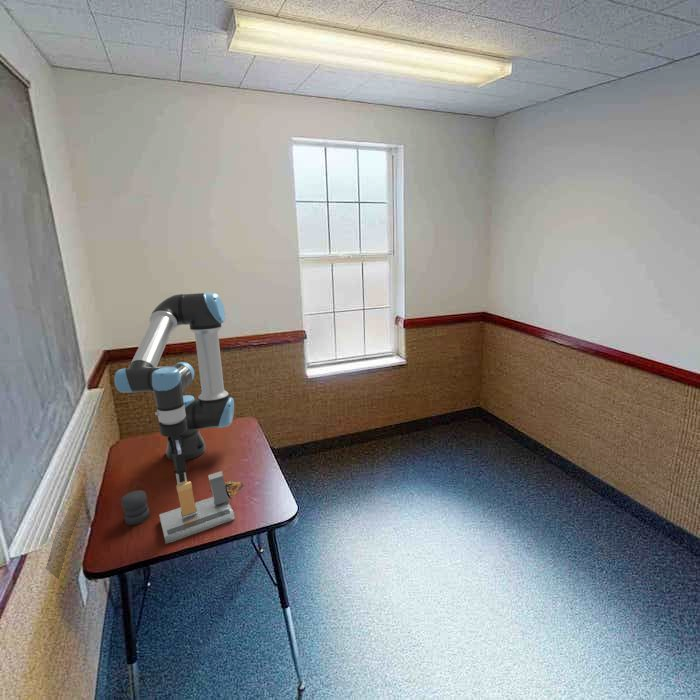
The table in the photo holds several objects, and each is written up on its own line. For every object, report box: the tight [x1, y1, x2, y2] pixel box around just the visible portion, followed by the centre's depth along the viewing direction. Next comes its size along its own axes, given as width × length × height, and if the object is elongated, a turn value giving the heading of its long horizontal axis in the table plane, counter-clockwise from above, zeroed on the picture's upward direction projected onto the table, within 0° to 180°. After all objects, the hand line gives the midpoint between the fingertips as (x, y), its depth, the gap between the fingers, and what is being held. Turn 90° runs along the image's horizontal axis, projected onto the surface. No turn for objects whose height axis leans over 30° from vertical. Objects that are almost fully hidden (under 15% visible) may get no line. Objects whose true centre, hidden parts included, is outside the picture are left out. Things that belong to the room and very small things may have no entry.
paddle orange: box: [175, 481, 197, 517], centre depth 128 cm, size 2×4×10 cm, turn 120°
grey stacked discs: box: [120, 490, 151, 526], centre depth 132 cm, size 7×7×8 cm
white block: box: [207, 470, 230, 506], centre depth 135 cm, size 2×4×10 cm
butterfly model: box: [208, 479, 245, 499], centre depth 147 cm, size 9×12×3 cm
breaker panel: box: [158, 496, 235, 545], centre depth 130 cm, size 12×20×3 cm, turn 120°
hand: (183, 489), depth 130 cm, fingers closed
